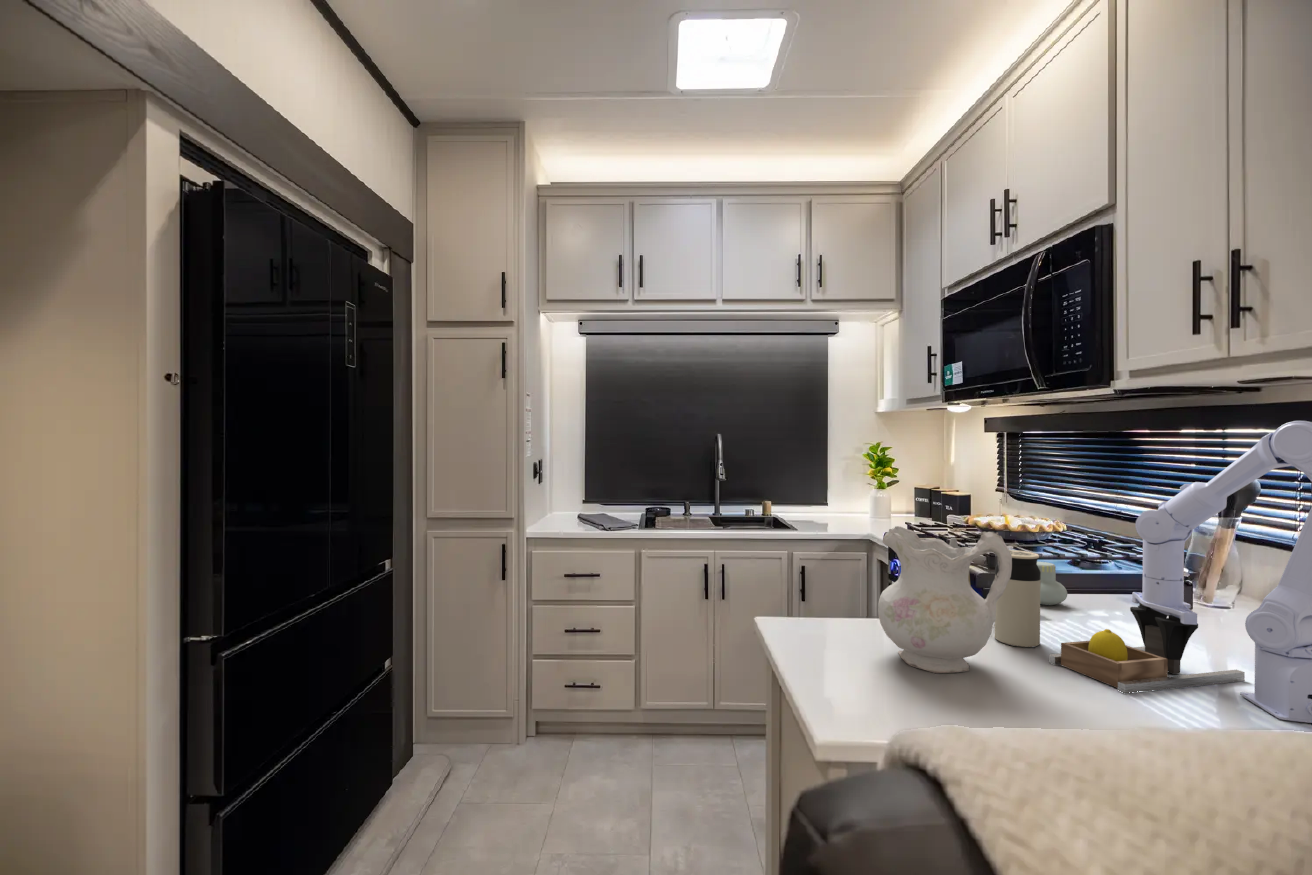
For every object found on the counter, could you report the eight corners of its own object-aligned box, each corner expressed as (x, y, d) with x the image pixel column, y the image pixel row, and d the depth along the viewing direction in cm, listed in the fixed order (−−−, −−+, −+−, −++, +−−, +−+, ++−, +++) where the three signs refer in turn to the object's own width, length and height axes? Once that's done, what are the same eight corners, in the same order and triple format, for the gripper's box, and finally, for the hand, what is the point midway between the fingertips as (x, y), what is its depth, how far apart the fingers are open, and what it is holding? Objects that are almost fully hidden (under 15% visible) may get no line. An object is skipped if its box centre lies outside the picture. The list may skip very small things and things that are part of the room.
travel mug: (1029, 650, 119) (1030, 558, 119) (987, 639, 126) (987, 551, 126) (1046, 643, 124) (1047, 554, 124) (1005, 633, 130) (1006, 548, 131)
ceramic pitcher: (993, 658, 118) (991, 527, 120) (1025, 689, 99) (1022, 534, 101) (874, 647, 124) (874, 523, 126) (883, 675, 105) (882, 528, 107)
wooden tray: (1117, 687, 101) (1117, 645, 101) (1060, 665, 111) (1061, 626, 111) (1199, 679, 105) (1200, 638, 105) (1137, 657, 116) (1138, 620, 116)
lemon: (1134, 682, 104) (1134, 635, 104) (1097, 679, 105) (1097, 632, 105) (1116, 670, 109) (1117, 625, 109) (1082, 668, 110) (1082, 623, 111)
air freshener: (1072, 608, 151) (1073, 567, 151) (1040, 608, 151) (1040, 567, 151) (1042, 597, 162) (1043, 559, 162) (1012, 597, 162) (1012, 559, 162)
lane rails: (1124, 694, 99) (1125, 684, 99) (1049, 662, 113) (1049, 654, 113) (1244, 680, 105) (1244, 672, 105) (1158, 652, 119) (1158, 645, 119)
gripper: (1218, 588, 102) (1217, 669, 102) (1161, 570, 117) (1161, 641, 117) (1170, 585, 104) (1170, 666, 103) (1120, 568, 118) (1119, 639, 118)
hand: (1162, 653), depth 110 cm, fingers open, 5 cm apart
